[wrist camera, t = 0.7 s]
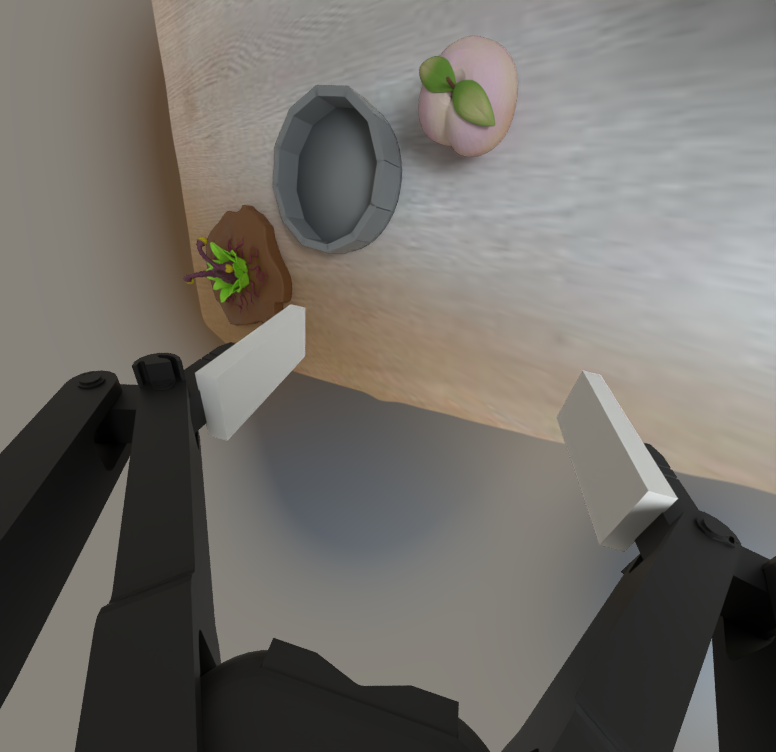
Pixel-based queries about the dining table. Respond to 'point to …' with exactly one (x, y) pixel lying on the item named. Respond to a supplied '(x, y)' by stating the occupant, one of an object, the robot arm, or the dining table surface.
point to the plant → (245, 267)
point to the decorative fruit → (468, 95)
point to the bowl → (336, 170)
